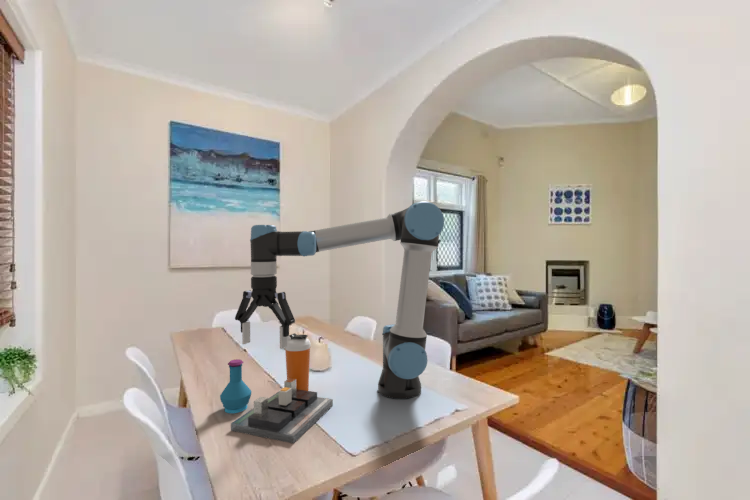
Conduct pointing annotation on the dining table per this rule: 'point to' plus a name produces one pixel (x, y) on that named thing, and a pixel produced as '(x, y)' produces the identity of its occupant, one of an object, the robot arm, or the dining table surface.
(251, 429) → the panel
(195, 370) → the dining table surface
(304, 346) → the shaker bottle
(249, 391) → the perfume bottle
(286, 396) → the breaker handle
